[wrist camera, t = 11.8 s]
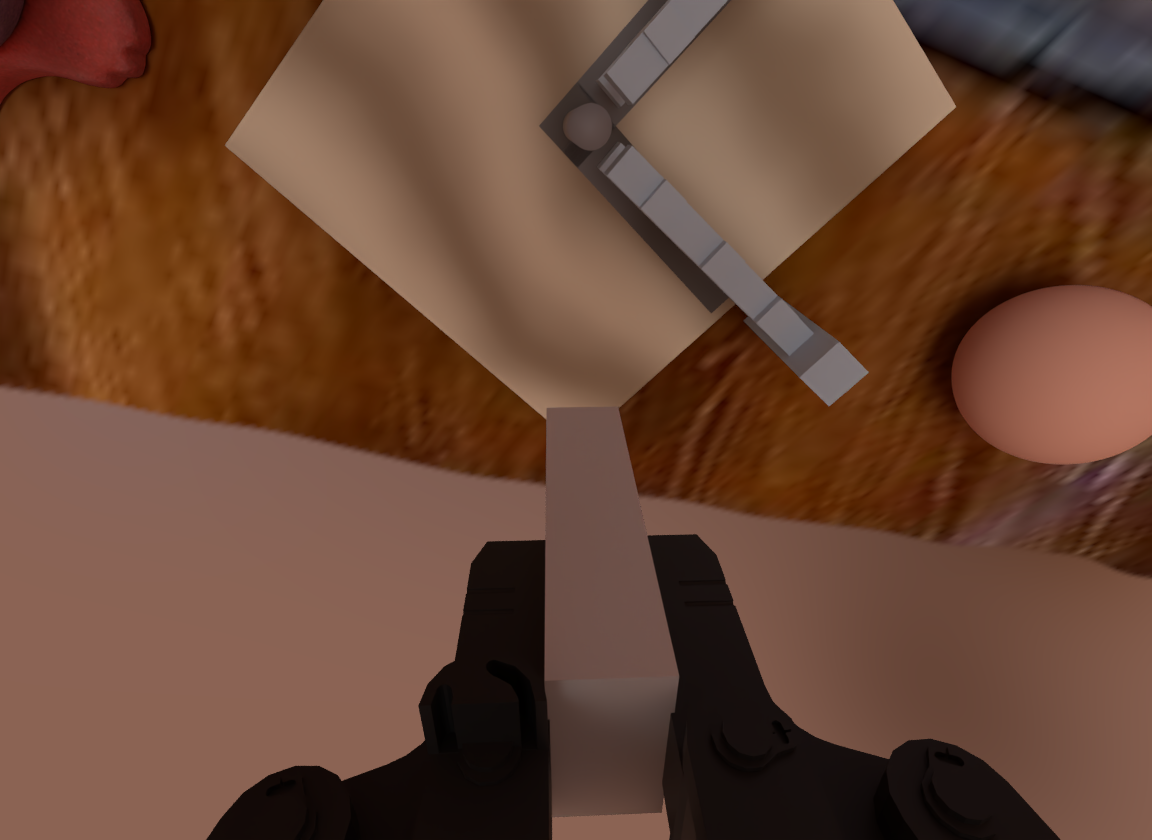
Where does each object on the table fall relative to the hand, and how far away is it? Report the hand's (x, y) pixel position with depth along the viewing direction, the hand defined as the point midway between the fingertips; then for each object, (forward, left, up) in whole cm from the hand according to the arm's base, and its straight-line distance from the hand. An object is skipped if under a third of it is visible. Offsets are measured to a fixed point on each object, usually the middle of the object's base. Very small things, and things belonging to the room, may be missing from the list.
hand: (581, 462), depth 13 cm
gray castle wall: (-5, +3, -15) cm, 16 cm away
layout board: (-5, -4, -16) cm, 17 cm away
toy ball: (-13, +18, -16) cm, 27 cm away
